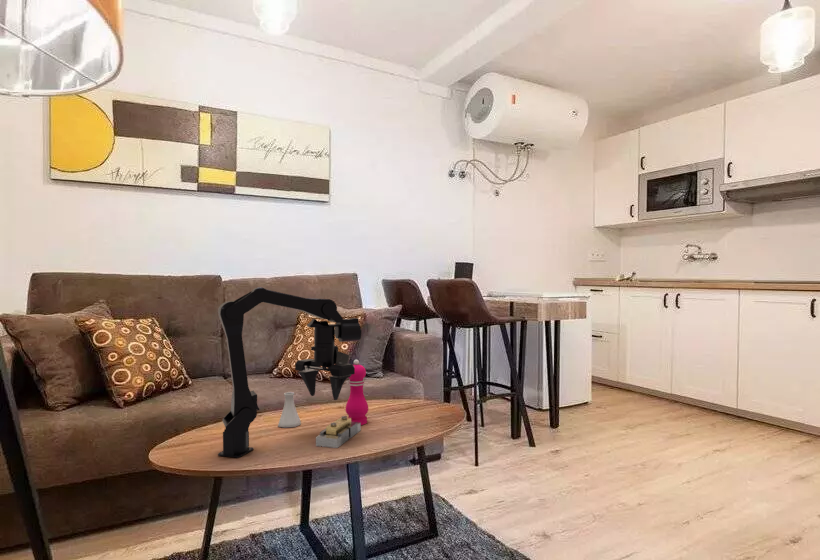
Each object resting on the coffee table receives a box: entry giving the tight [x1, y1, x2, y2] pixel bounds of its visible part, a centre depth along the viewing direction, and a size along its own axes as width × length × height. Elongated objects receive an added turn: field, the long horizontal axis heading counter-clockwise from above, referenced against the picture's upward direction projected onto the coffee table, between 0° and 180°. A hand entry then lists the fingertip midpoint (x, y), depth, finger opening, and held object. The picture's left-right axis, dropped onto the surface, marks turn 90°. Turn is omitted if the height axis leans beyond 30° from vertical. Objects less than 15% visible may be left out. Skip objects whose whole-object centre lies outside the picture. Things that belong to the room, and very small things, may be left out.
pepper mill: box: [345, 359, 369, 426], centre depth 148 cm, size 7×7×20 cm
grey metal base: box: [315, 422, 362, 449], centre depth 134 cm, size 16×6×3 cm, turn 163°
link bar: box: [325, 415, 351, 436], centre depth 134 cm, size 10×3×4 cm, turn 163°
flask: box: [277, 391, 302, 429], centre depth 147 cm, size 7×7×10 cm
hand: (324, 397), depth 133 cm, fingers open, 9 cm apart
